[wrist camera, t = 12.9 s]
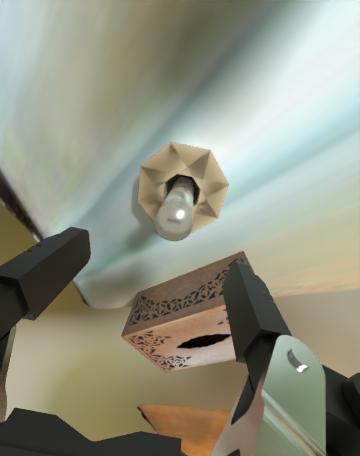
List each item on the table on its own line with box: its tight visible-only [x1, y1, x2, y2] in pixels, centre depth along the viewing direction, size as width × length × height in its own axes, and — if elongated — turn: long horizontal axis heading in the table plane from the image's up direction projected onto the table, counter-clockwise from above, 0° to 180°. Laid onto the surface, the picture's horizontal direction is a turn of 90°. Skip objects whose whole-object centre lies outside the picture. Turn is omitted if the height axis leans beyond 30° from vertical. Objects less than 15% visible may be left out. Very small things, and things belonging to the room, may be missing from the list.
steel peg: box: [154, 178, 193, 241], centre depth 19 cm, size 3×3×14 cm
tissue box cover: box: [121, 251, 255, 373], centre depth 32 cm, size 26×14×10 cm, turn 121°
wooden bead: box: [138, 142, 229, 234], centre depth 24 cm, size 12×12×4 cm
